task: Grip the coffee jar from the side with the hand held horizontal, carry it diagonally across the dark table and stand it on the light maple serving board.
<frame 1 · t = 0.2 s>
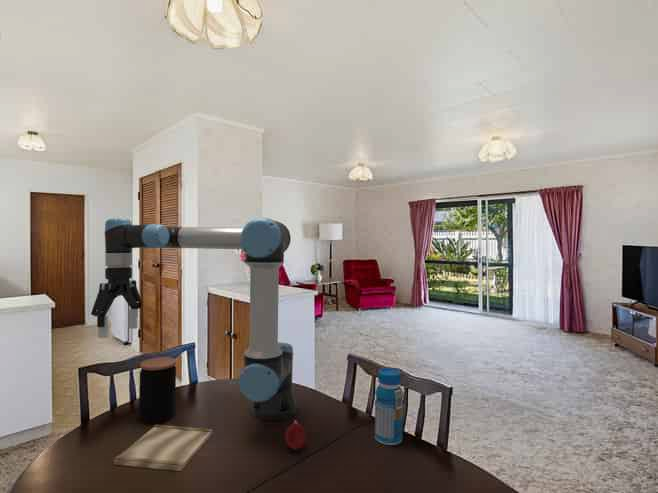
hand: (119, 332, 116), 27 cm above the table, tool pointing down, fingers open, 13 cm apart
onion: (295, 450, 100), on the table
board: (167, 448, 99), on the table
coffee jar: (157, 418, 117), on the table
beverage bottle: (388, 439, 107), on the table
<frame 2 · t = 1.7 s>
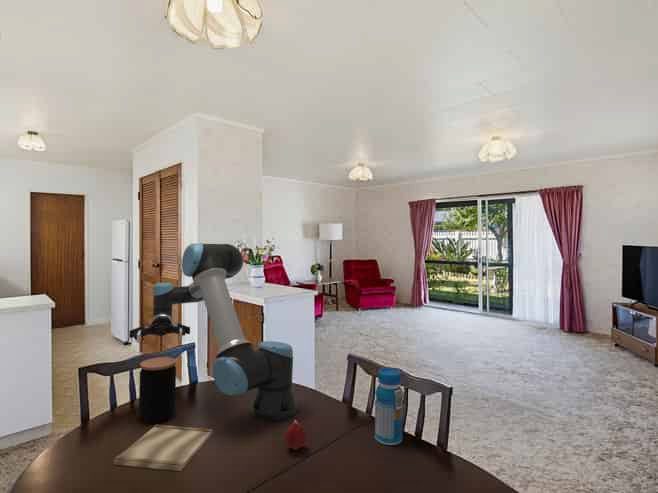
hand: (160, 337, 126), 24 cm above the table, tool horizontal, fingers open, 13 cm apart
nothing on the table moved.
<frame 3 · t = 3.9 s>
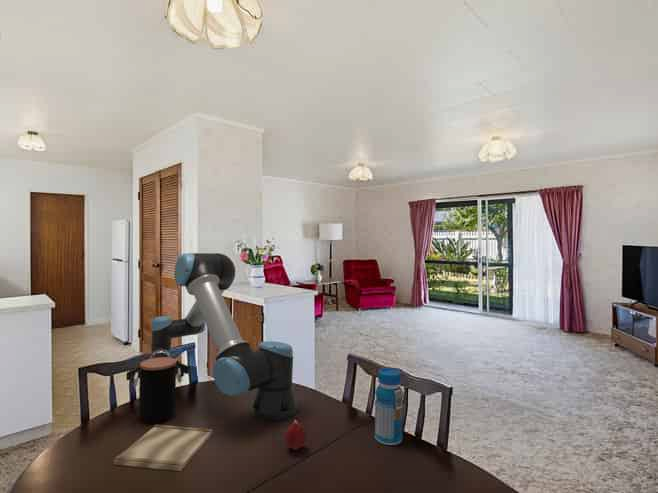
hand: (157, 380, 122), 10 cm above the table, tool horizontal, fingers open, 13 cm apart
nothing on the table moved.
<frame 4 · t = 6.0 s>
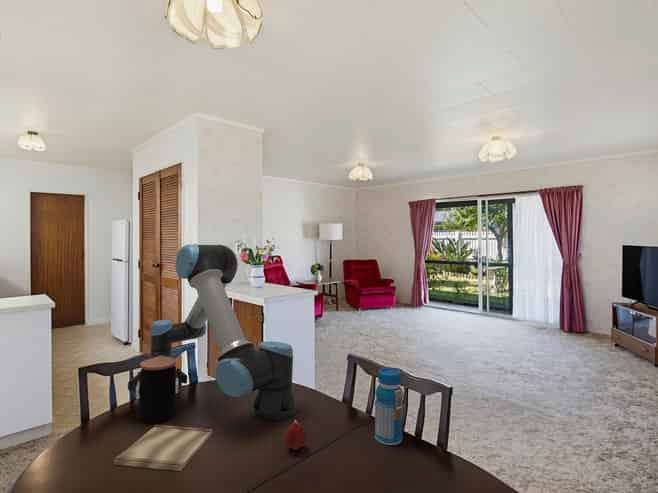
hand: (157, 391, 113), 10 cm above the table, tool horizontal, fingers closed on coffee jar, 11 cm apart
coffee jar: (157, 418, 117), on the table, touching gripper
everything else where it was.
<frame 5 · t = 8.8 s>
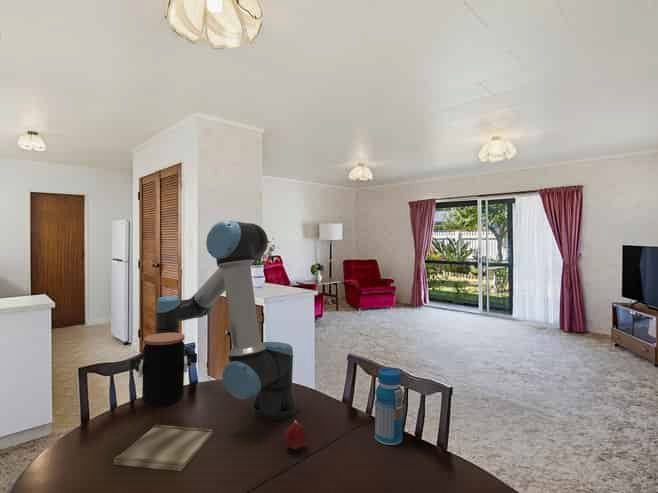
hand: (163, 369, 98), 22 cm above the table, tool horizontal, fingers closed on coffee jar, 11 cm apart
coffee jar: (163, 401, 102), point 12 cm above the table, touching gripper
everything else where it was.
when the fingers open (13 cm above the table, at t = 11.5 s): coffee jar drops 1 cm, resting on board.
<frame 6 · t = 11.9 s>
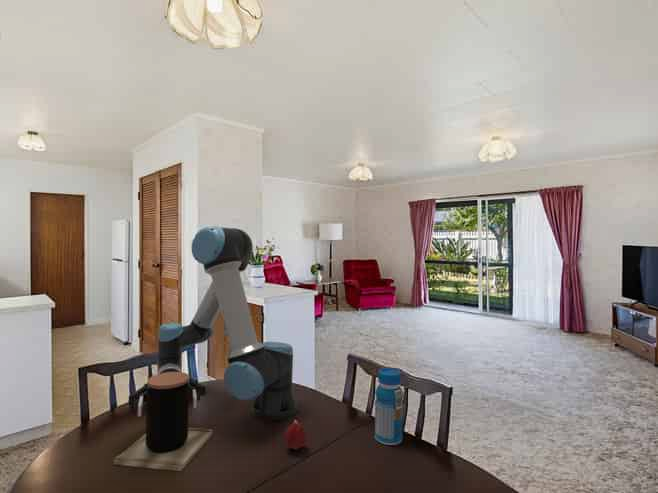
hand: (168, 407, 96), 13 cm above the table, tool horizontal, fingers open, 13 cm apart
coffee jar: (167, 444, 99), point 1 cm above the table, touching board
everything else where it was.
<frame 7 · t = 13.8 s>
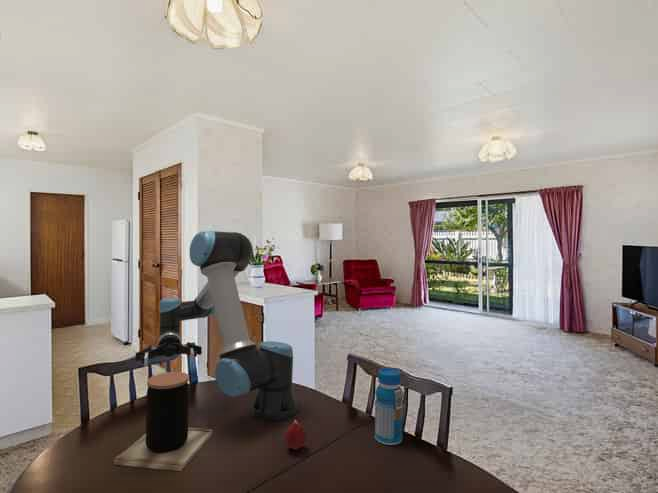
hand: (169, 360, 113), 20 cm above the table, tool horizontal, fingers open, 13 cm apart
nothing on the table moved.
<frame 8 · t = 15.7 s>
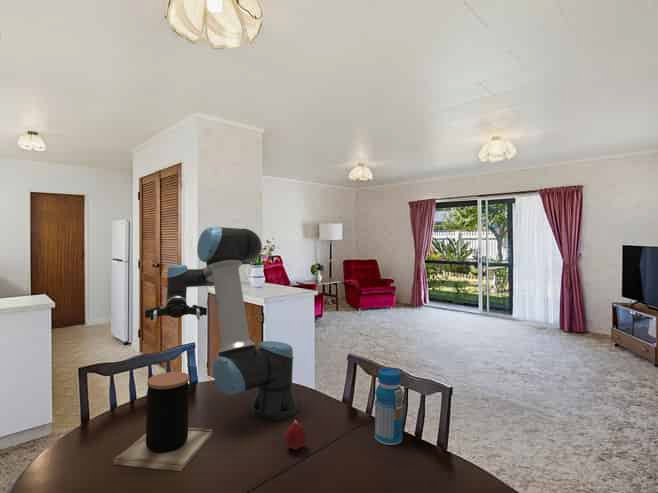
hand: (177, 316, 121), 32 cm above the table, tool horizontal, fingers open, 13 cm apart
nothing on the table moved.
at the end: coffee jar inside the target area on the board (0.1 cm from its centre), point 1.0 cm above the board's base; coffee jar tilted 0°; the gripper is holding nothing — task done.
